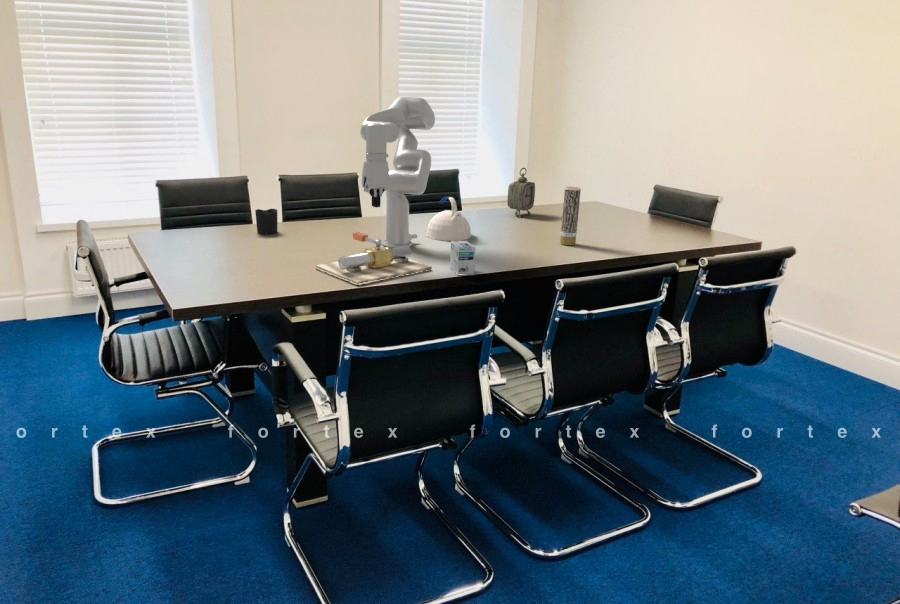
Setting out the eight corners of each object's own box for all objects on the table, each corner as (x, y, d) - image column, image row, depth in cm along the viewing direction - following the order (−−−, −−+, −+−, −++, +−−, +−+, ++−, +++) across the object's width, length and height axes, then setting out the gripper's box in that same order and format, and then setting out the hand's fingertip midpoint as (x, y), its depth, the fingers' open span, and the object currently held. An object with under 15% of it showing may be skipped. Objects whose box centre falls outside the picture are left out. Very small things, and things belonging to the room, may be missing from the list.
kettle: (437, 242, 300) (438, 201, 294) (419, 232, 317) (420, 193, 312) (478, 240, 308) (480, 199, 302) (459, 230, 325) (461, 192, 320)
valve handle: (358, 237, 263) (358, 232, 262) (382, 245, 252) (382, 239, 252) (352, 238, 261) (352, 233, 260) (377, 246, 251) (377, 240, 250)
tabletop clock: (520, 218, 356) (524, 169, 348) (505, 216, 360) (508, 168, 352) (533, 214, 367) (536, 167, 359) (518, 212, 372) (521, 165, 364)
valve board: (388, 255, 275) (388, 252, 275) (431, 270, 258) (431, 266, 257) (315, 269, 253) (315, 265, 253) (357, 286, 235) (357, 282, 235)
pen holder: (270, 235, 301) (269, 213, 297) (252, 233, 303) (250, 211, 300) (282, 231, 309) (281, 209, 306) (264, 229, 312) (263, 207, 309)
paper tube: (564, 241, 310) (569, 186, 302) (577, 244, 306) (583, 188, 298) (557, 244, 304) (562, 187, 296) (571, 246, 301) (576, 189, 293)
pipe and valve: (402, 258, 266) (402, 239, 264) (412, 262, 262) (412, 242, 260) (337, 271, 246) (336, 250, 244) (346, 275, 242) (346, 253, 240)
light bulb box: (474, 275, 253) (476, 246, 250) (457, 276, 252) (458, 247, 248) (466, 267, 263) (467, 240, 260) (449, 268, 261) (450, 240, 258)
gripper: (386, 155, 263) (385, 203, 268) (353, 157, 253) (354, 207, 258) (398, 157, 257) (397, 206, 263) (366, 159, 248) (365, 210, 253)
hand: (376, 206), depth 261 cm, fingers closed
